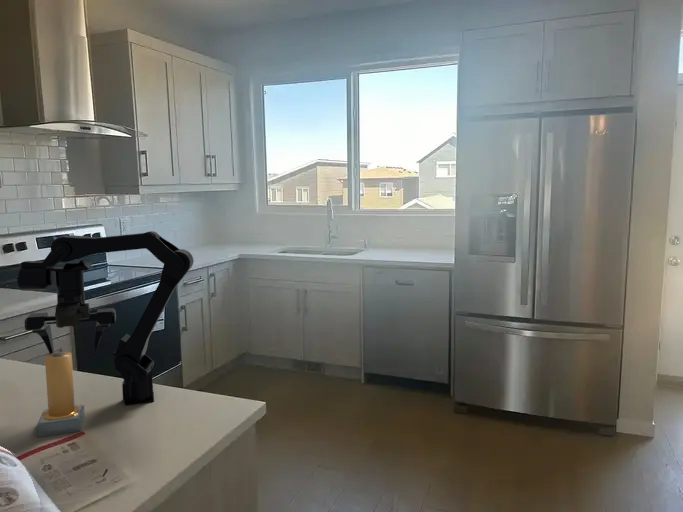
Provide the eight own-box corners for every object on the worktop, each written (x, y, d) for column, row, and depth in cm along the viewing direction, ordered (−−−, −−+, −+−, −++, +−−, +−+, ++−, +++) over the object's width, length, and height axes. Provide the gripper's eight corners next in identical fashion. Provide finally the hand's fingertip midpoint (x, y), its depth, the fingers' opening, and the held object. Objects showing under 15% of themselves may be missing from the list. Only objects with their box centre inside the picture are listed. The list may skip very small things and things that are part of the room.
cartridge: (76, 406, 115) (73, 350, 113) (73, 414, 110) (69, 356, 109) (50, 409, 113) (47, 352, 112) (46, 418, 108) (42, 359, 107)
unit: (85, 415, 117) (84, 402, 117) (80, 431, 110) (80, 416, 109) (44, 421, 114) (43, 407, 114) (37, 437, 107) (36, 422, 106)
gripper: (16, 298, 111) (21, 368, 113) (111, 292, 118) (115, 359, 119) (27, 289, 121) (32, 354, 123) (114, 285, 128) (117, 346, 130)
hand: (74, 354), depth 124 cm, fingers open, 9 cm apart
